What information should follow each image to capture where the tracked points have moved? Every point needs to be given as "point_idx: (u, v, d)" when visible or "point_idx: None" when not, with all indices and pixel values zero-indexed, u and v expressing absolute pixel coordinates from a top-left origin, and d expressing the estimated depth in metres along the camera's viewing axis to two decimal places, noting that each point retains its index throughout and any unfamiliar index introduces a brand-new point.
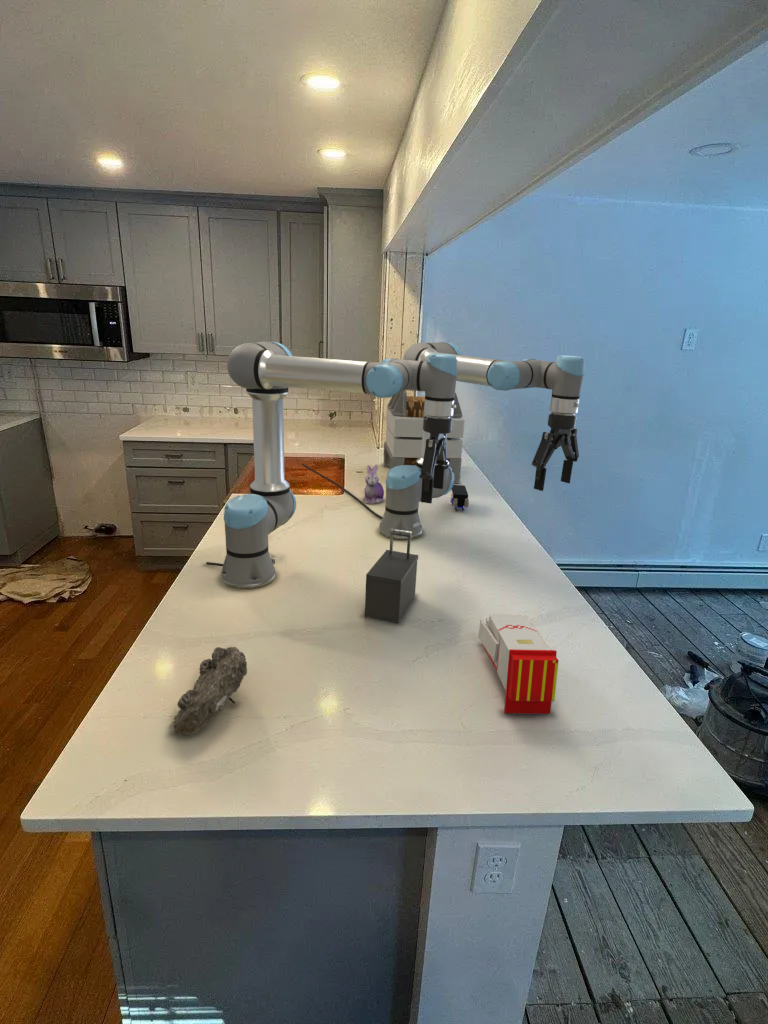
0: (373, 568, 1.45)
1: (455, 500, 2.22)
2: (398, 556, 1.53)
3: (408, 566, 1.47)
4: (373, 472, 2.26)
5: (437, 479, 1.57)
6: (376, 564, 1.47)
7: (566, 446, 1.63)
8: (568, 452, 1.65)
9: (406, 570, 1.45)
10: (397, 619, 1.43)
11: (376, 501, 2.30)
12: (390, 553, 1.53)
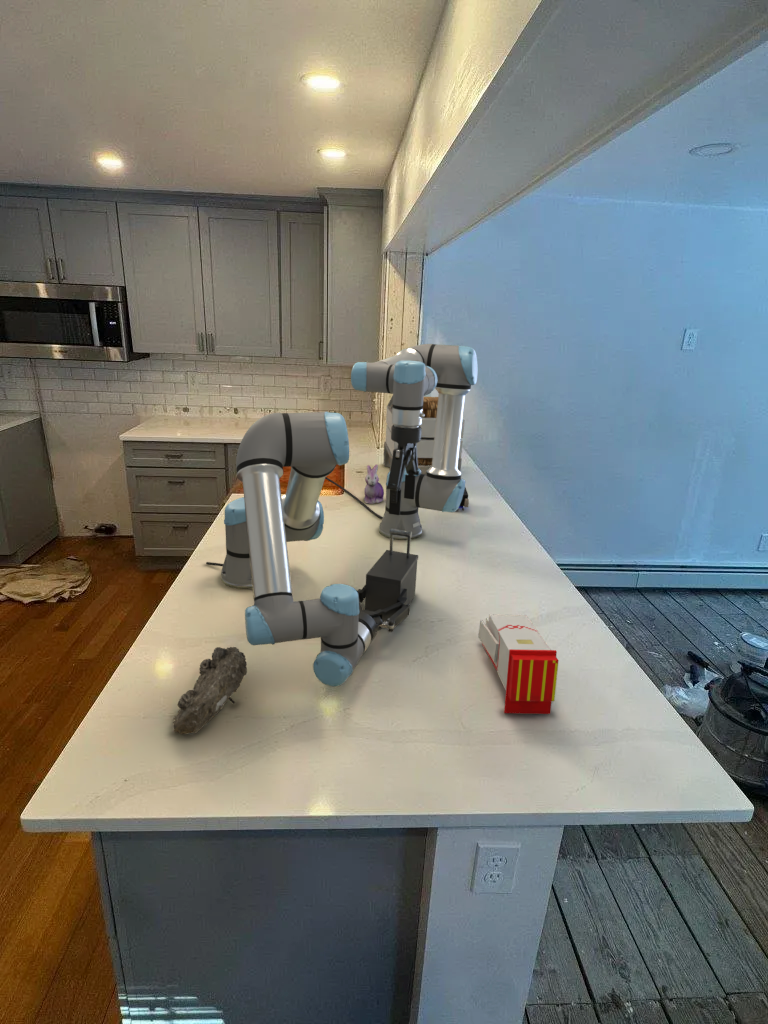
0: (373, 568, 1.45)
1: None
2: (398, 556, 1.53)
3: (408, 566, 1.47)
4: (373, 472, 2.26)
5: None
6: (376, 564, 1.47)
7: (410, 460, 1.47)
8: (411, 466, 1.49)
9: (406, 570, 1.45)
10: None
11: (376, 501, 2.30)
12: (390, 553, 1.53)
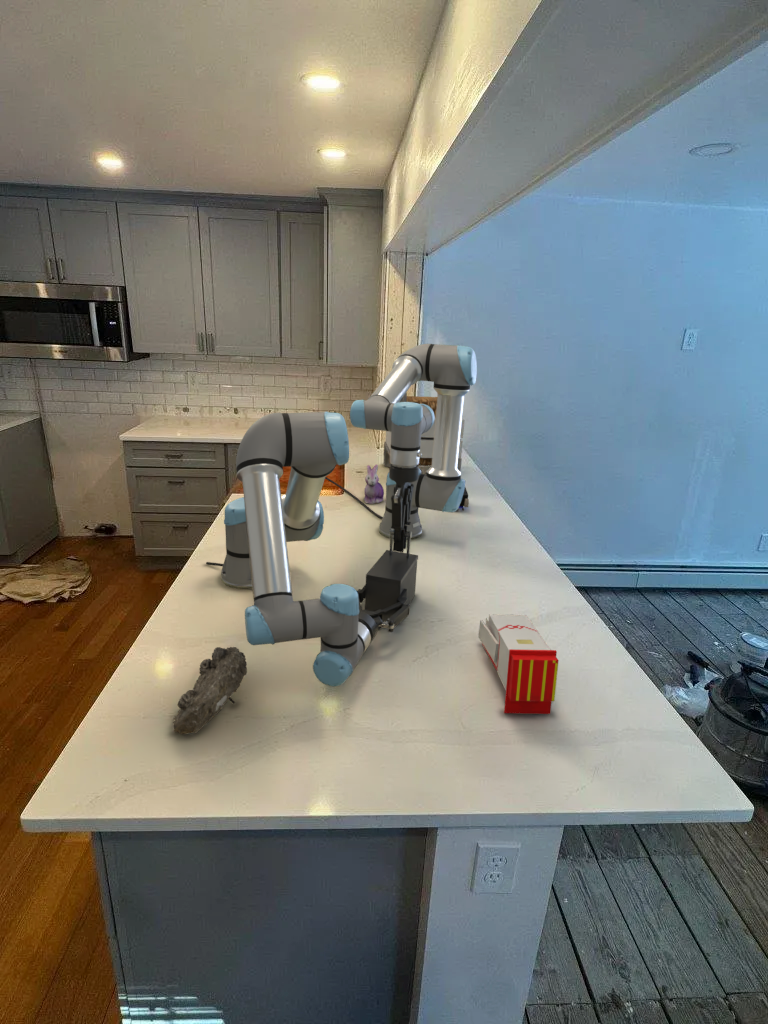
0: (373, 568, 1.45)
1: None
2: (398, 556, 1.53)
3: (408, 566, 1.47)
4: (373, 472, 2.26)
5: None
6: (376, 564, 1.47)
7: None
8: (405, 511, 1.49)
9: (406, 570, 1.45)
10: None
11: (376, 501, 2.30)
12: (390, 553, 1.53)
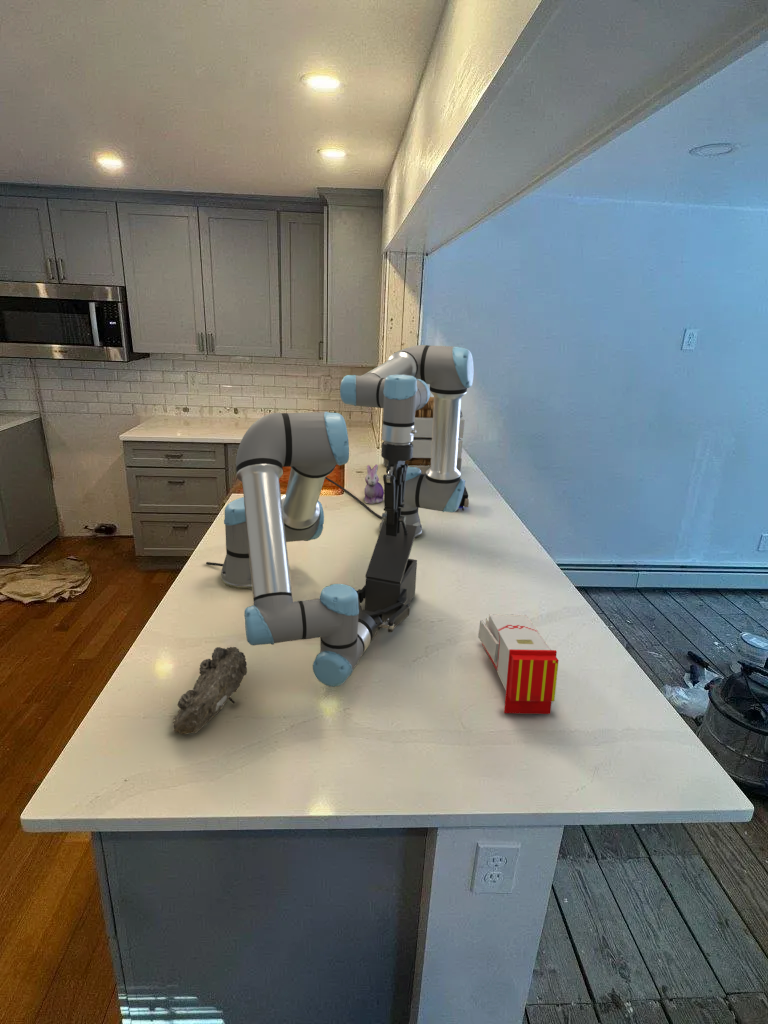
0: (371, 562, 1.43)
1: None
2: None
3: (407, 551, 1.43)
4: (373, 472, 2.26)
5: None
6: (374, 553, 1.44)
7: None
8: (398, 492, 1.40)
9: (405, 560, 1.42)
10: None
11: (376, 501, 2.30)
12: None
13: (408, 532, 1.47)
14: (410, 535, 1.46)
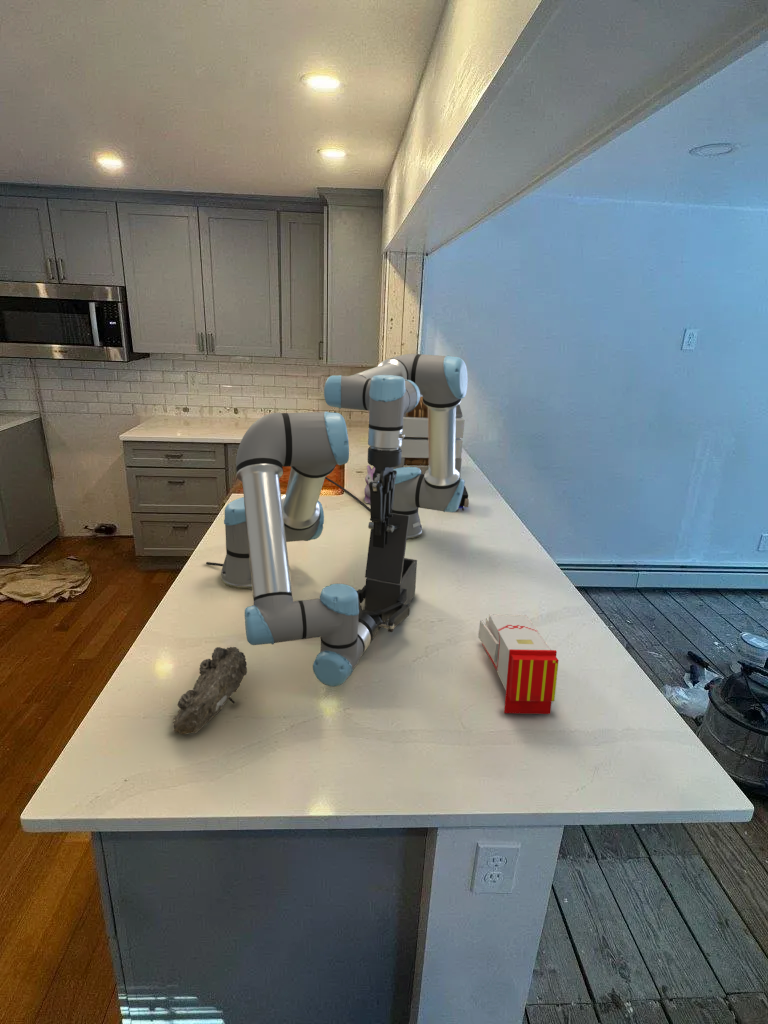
0: (368, 562, 1.41)
1: None
2: None
3: (402, 548, 1.38)
4: (373, 472, 2.26)
5: None
6: (369, 551, 1.40)
7: None
8: (386, 501, 1.31)
9: (401, 558, 1.38)
10: None
11: None
12: None
13: (400, 524, 1.38)
14: (403, 528, 1.38)
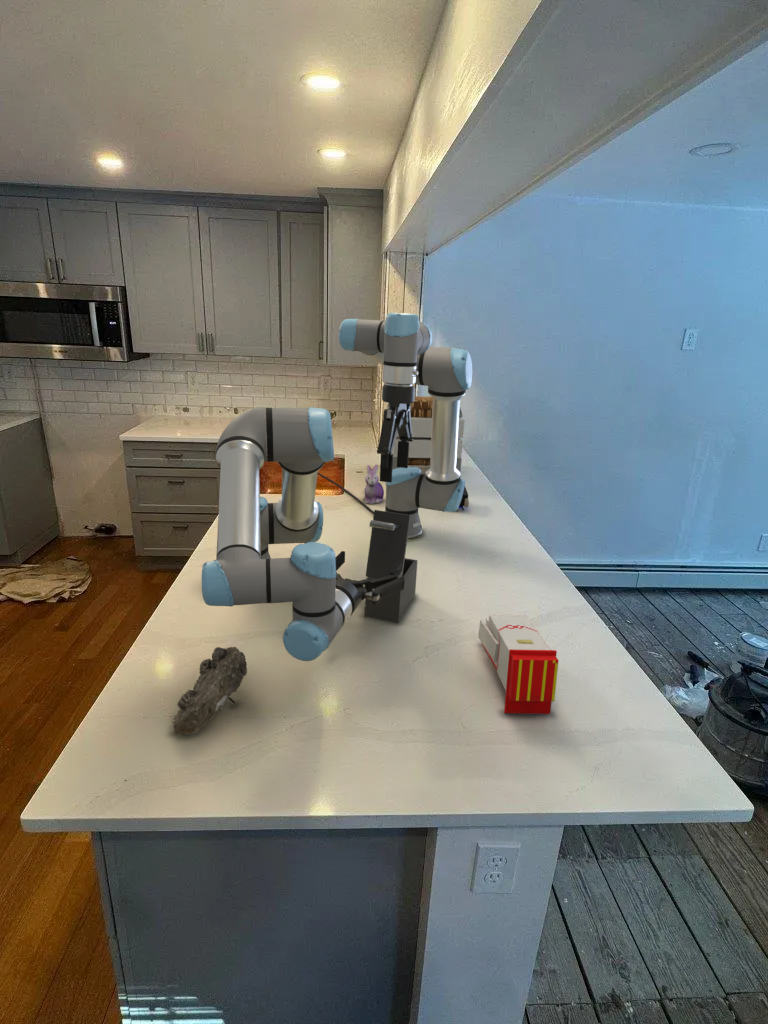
0: (369, 561, 1.41)
1: None
2: None
3: (403, 547, 1.39)
4: (373, 472, 2.26)
5: None
6: (370, 550, 1.41)
7: (403, 424, 1.35)
8: (404, 431, 1.38)
9: (402, 557, 1.39)
10: (397, 619, 1.43)
11: (376, 501, 2.30)
12: None
13: (401, 523, 1.39)
14: (404, 527, 1.38)
